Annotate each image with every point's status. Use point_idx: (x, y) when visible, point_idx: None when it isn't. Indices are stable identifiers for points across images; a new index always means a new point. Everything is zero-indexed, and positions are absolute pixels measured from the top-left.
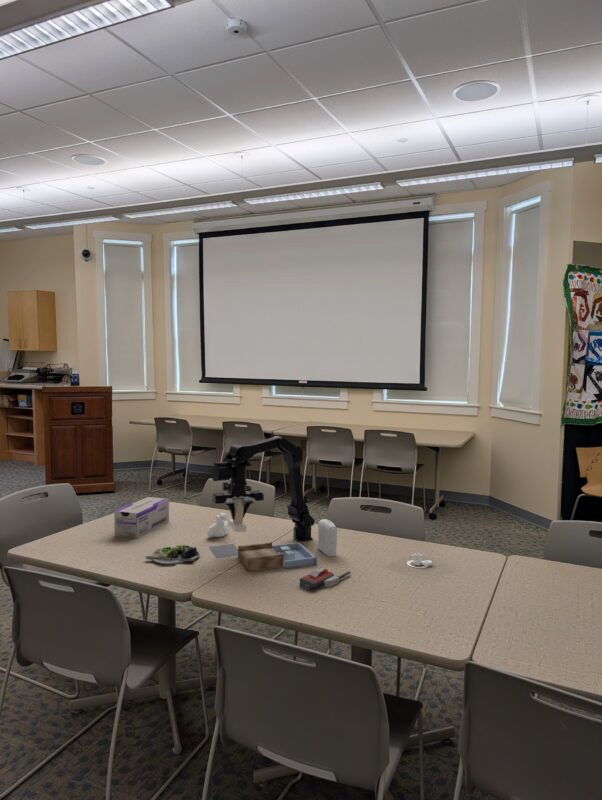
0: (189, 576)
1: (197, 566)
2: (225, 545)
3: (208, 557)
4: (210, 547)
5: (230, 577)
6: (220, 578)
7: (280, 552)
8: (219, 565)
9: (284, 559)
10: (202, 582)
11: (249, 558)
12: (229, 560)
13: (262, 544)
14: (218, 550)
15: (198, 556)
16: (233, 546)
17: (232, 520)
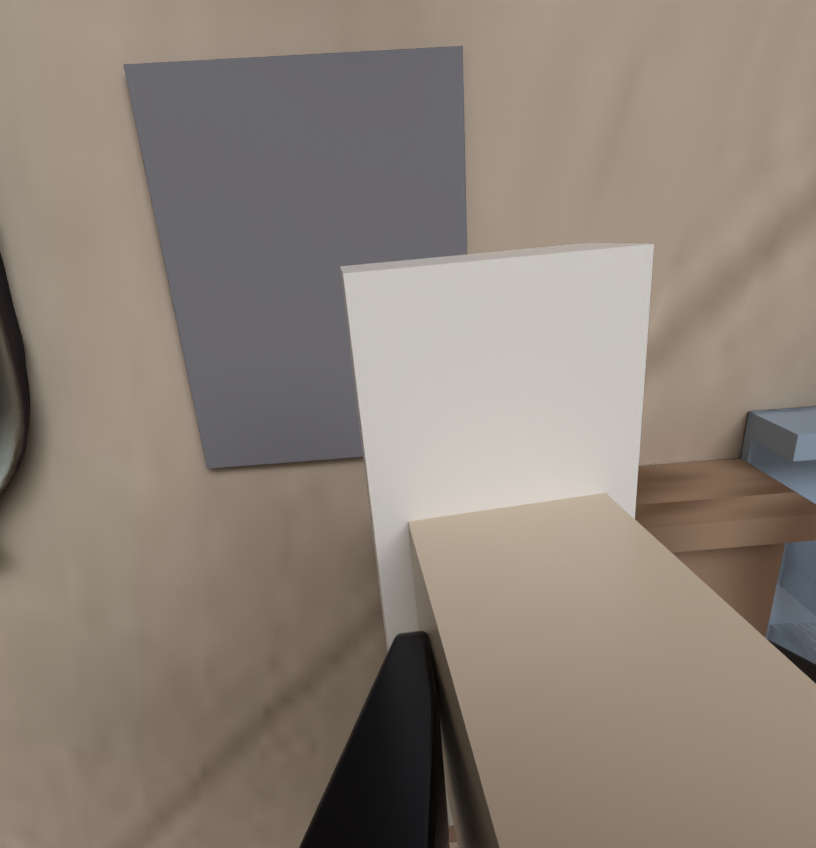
0: (2, 746)
1: (44, 591)
2: (348, 81)
3: (136, 406)
4: (148, 108)
5: (297, 801)
6: (228, 804)
7: (808, 552)
8: (235, 608)
9: (769, 628)
10: (107, 834)
11: (456, 841)
12: (333, 524)
13: (707, 545)
14: (245, 253)
15: (14, 459)
16: (439, 157)
17: (431, 407)
